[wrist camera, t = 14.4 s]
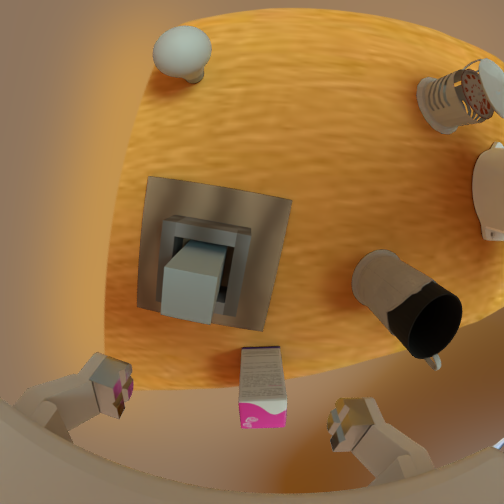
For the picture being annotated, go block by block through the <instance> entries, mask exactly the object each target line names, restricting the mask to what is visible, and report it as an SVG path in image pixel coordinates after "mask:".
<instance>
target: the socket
mask: <svg viewBox="0 0 504 504" xmlns="http://www.w3.org/2000/svg"><path fill="white" fill-rule="evenodd" d="M291 205H292V200H288V199H284V198H279V197H274V196H269V195H264V194H259V193H253V192H248V191H243V190H237V189H232V188H226V187H220V186H214V185H208V184H202V183H195V182H189V181H182V180H175V179H168V178H160V177H152V176H149V177H148V183H147V190H146V197H145V204H144V212H143V221H142V230H141V241H140V253H139V268H138V289H137V307H139V308H143V309H147V310H152V311H156V312H160V313H161V302H162V288H163V276H164V267H165V266H166V265H167V264H168V262H169V261H170V260H171V259H172V258H173V257H174V256H175V255H176V254H177V253H178V252H179V251H180V250H181V249H182V248H183V247H184V246H185V245H186V244H187V243H188V242H189V241H190V240H191V239H192V240H198V241H203V242H209V243H214V244H220V245H225V246H228V248H227V253H226V259H225V265H224V270H223V276H222V281H221V285H220V289H219V292H218V296H217V300H216V304H215V308H214V312H213V316H212V320H211V323H213V324H219V325H225V326H230V327H236V328H242V329H249V330H255V331H262V332H263V328H264V324H265V320H266V316H267V312H268V308H269V303H270V299H271V295H272V291H273V286H274V282H275V278H276V273H277V269H278V265H279V260H280V256H281V251H282V247H283V242H284V238H285V233H286V228H287V224H288V219H289V214H290V210H291Z"/></svg>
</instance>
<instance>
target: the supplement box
mask: <svg viewBox="0 0 504 504" xmlns="http://www.w3.org/2000/svg"><path fill="white" fill-rule="evenodd" d="M239 411H240V421H241V428H277V427H285V424H286V412H287V395H286V388H285V380H284V373H283V366H282V359H281V352H280V346H270V347H243V348H242V352H241V368H240V384H239Z"/></svg>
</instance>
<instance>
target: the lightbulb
mask: <svg viewBox="0 0 504 504" xmlns="http://www.w3.org/2000/svg"><path fill="white" fill-rule="evenodd" d="M211 51H212V47H211V42H210V39H209V38H208V36H207V35H206V34H205V33H204V32H203V31H201V30H200V29H198V28H196V27H192V26H178V27H174V28H172V29H170V30H168V31H166V32H165V33H163V34H162V35H161V36H160V37H159V39H158V40H157V41H156V43H155V45H154V48H153V60H154V63H155V65H156V67H157V68H158V69H159V70H160V71H161V72H162V73H164V74H166V75H168V76H171V77H176V78H180V77H182V78H183V79H185V80H186V81H187V82H189V83H197V82H199V81H200V80H202V78H203V76H204V71H203V70H204V66H205V65H206V64H207V62H208V61H209V59H210V56H211Z"/></svg>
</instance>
